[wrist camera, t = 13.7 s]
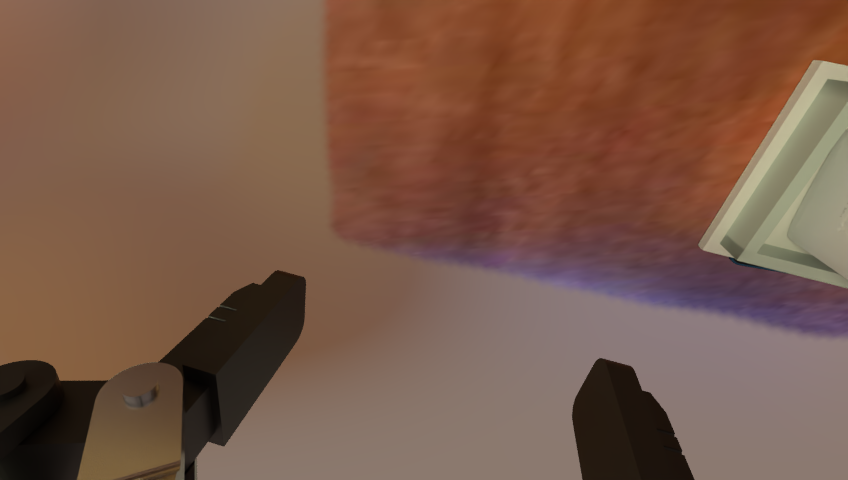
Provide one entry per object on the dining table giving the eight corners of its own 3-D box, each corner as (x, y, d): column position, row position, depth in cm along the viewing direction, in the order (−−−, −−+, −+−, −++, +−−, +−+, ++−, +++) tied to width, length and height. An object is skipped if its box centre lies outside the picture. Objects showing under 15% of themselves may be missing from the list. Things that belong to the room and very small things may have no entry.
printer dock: (813, 59, 29) (855, 63, 25) (988, 97, 28) (1058, 106, 24) (697, 245, 36) (717, 267, 33) (831, 278, 35) (867, 305, 32)
